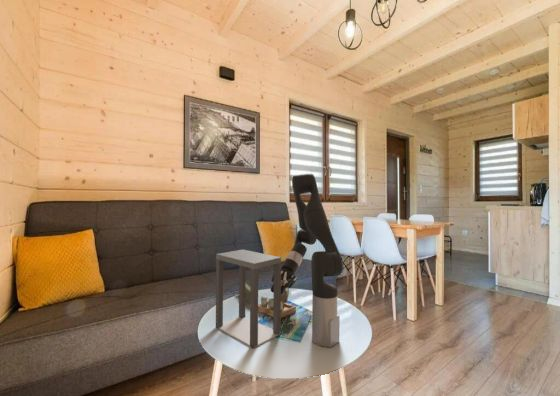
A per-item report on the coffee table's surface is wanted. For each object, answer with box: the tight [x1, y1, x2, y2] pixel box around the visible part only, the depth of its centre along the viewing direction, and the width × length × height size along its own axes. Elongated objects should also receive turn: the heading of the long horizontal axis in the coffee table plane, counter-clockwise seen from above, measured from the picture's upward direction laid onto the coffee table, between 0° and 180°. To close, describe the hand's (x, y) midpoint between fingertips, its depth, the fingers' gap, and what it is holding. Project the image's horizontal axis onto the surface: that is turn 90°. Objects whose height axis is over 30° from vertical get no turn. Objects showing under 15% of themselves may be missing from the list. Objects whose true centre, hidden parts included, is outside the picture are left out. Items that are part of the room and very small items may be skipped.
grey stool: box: [215, 249, 282, 349], centre depth 110 cm, size 23×14×30 cm, turn 48°
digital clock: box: [284, 288, 290, 301], centre depth 148 cm, size 16×9×11 cm, turn 161°
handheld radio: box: [245, 283, 250, 304], centre depth 142 cm, size 7×3×25 cm
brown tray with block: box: [258, 280, 297, 319], centre depth 129 cm, size 14×11×14 cm
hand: (275, 292), depth 128 cm, fingers closed on brown tray with block, 4 cm apart
